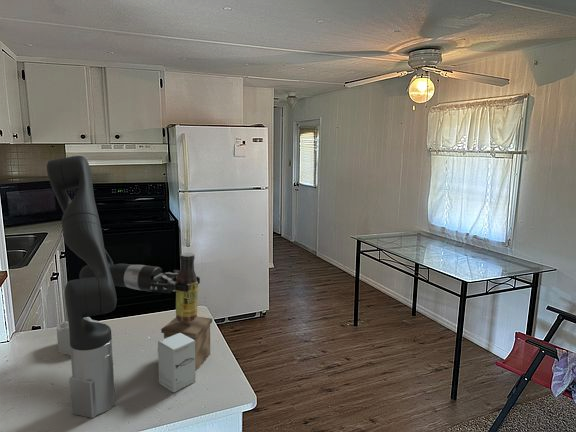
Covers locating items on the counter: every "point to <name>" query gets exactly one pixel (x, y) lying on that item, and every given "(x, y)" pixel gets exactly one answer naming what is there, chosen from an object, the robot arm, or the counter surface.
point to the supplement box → (176, 361)
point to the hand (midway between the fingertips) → (194, 284)
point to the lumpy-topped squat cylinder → (66, 336)
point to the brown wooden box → (193, 335)
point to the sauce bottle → (188, 300)
